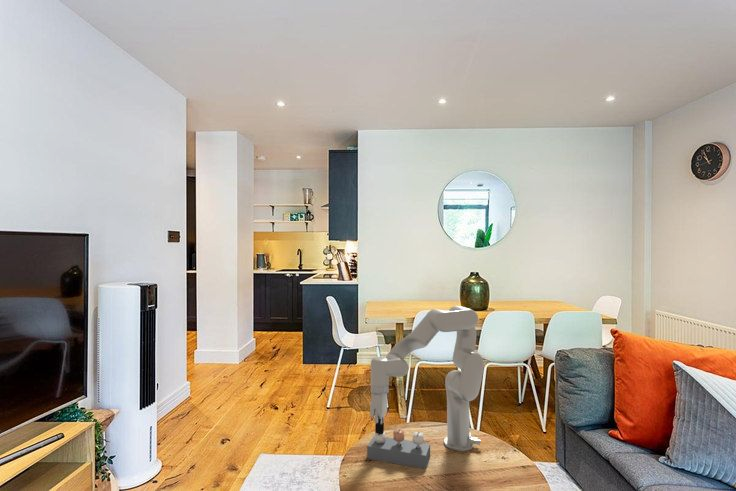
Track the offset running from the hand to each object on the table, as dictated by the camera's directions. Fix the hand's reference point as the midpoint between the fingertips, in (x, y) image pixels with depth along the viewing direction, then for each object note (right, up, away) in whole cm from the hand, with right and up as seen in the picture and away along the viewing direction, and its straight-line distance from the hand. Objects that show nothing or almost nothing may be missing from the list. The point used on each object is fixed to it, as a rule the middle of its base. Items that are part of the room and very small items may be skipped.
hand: (379, 432), depth 160 cm
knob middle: (+8, -4, -3) cm, 9 cm away
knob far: (0, -7, 0) cm, 7 cm away
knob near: (+15, -5, -5) cm, 17 cm away
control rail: (+8, -9, -3) cm, 12 cm away
